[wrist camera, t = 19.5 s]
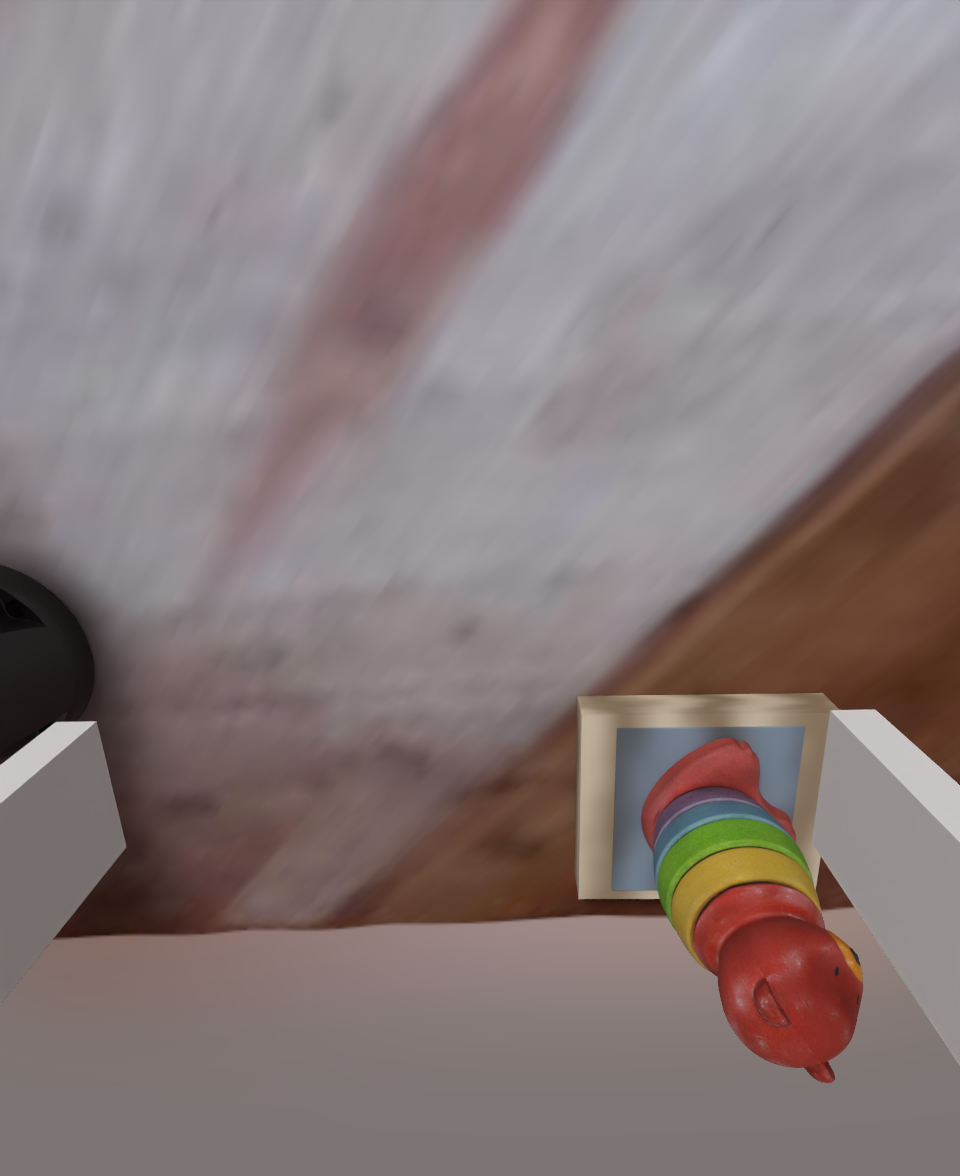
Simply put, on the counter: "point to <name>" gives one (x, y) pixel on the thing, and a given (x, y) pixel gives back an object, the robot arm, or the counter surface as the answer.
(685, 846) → the stacking bear
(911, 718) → the counter surface
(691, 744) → the plinth
